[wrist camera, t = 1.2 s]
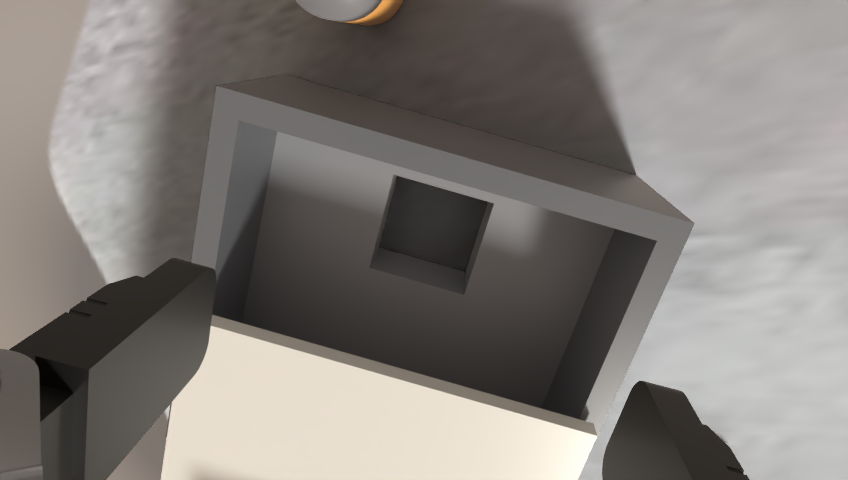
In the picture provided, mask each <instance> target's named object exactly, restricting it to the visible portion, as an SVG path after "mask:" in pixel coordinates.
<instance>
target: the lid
mask: <svg viewBox="0 0 848 480" xmlns="http://www.w3.org/2000/svg"><path fill="white" fill-rule="evenodd" d="M596 438H597V433H596V430H595V426H594V423H590V422H587V421H583V420H580V419H576V418H573V417H569V416H566V415H562V414H559V413H555V412H552V411H548V410H545V409H541V408H538V407H534V406H531V405H527V404H524V403H520V402H517V401H513V400H510V399H506V398H503V397H499V396H496V395H492V394H489V393H485V392H482V391H478V390H475V389H471V388H468V387H464V386H461V385H457V384H454V383H450V382H447V381H443V380H440V379H436V378H433V377H429V376H426V375H422V374H419V373H415V372H412V371H408V370H405V369H401V368H398V367H394V366H391V365H387V364H384V363H380V362H376V361H373V360H369V359H366V358H362V357H359V356H355V355H352V354H348V353H345V352H341V351H338V350H334V349H331V348H327V347H324V346H320V345H317V344H313V343H310V342H306V341H303V340H299V339H296V338H292V337H289V336H285V335H282V334H278V333H275V332H271V331H268V330H264V329H261V328H257V327H254V326H250V325H247V324H243V323H240V322H236V321H233V320H229V319H226V318H222V317H219V316H215V315H212V319H211V327H210V335H209V343H208V347H207V351H206V354H205V357H204V359H203V362H202V364H201V366H200V368H199V370H198V371H197V373H196V374H195V375H194V376H193V378H192V379H191V380H190V381H189V382H188V384H187V385H186V386H185V387H184V388H183V389H182V391H181V392H180V393H179V394H178V395H177V397H176V398H175V399H174V400H173V401H172V405H171V412H170V419H169V426H168V433H167V440H166V447H165V454H164V461H163V469H162V475H161V480H578V478H579V475H580V473H581V471H582V469H583V467H584V464H585V462H586V460H587V458H588V456H589V453H590V451H591V449H592V447H593V445H594V442H595V440H596Z"/></svg>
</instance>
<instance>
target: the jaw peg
mask: <svg viewBox="0 0 848 480" xmlns="http://www.w3.org/2000/svg"><path fill="white" fill-rule="evenodd" d="M295 1H296V2H297V3H298V4H299V5H300V6H301V7H302V8H303V9H304V10H306V11H307V12H309V13H310V14H312V15H314V16H316V17H319V18H322V19H326V20H332V21H339V22H346V23H352V24H359V25H367V26H371V25H378V24H381V23H383V22H385V21H387V20H389V19H390V18H391V17H392V16H393V15H395V14H396V12H397V11H398V10H399V8H400V7H401V5H402V3H403V0H295Z"/></svg>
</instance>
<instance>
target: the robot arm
mask: <svg viewBox="0 0 848 480" xmlns="http://www.w3.org/2000/svg"><path fill="white" fill-rule="evenodd" d="M215 288H216V272H215V270H214V269H213V268H210V267H206V266H203V265H199V264H195V263H191V262H187V261H183V260H179V259H176V258H172V259H170V260H168V261H167V262H166V263H164V264H163V265H161V266H160V267H159V268H157V269H156V270H154V271H153V272H152V273H150V274H149V275H147V276H146V277H145V278H143V277H139V276H134V277H130V278H127V279H124V280H120V281H117V282H114V283H111V284H108V285H106V286H105V287H103V288H101V289H100V290H98V291H97V292H95V293H94V294H92V295H91V296H89V297H88V298H87V300H86V301H82V302H80V303H79V304H77V305H76V306H74V307H73V308H71V309H70V311H69V313H66V312H65V313H64V314H62V315H61V316H59V317H58V318H56V319H55V320H53V321H52V322H50V323H49V324H47V325H46V326H44V327H43V328H41V329H40V330H38V331H37V332H35V333H33V334H32V335H30V336H29V337H27V338H26V339H25V340H23V341H21V342H20V343H18V344H17V345H15V346H14V347H12V348H11V349H9V350H5V349H0V480H106V479H107V478H108V477H109V475H110V474H111V473H112V472H113V471H114V469H116V467H117V466H118V465H119V464H120V463H121V461H122V460H123V459H124V458H125V457H126V456H127V454H128V453H129V452H130V451H131V450H132V448H133V447H134V446H135V445H136V444H137V443H138V441H139V440H140V439H141V438H142V437H143V435H144V434H145V433H146V432H147V431H148V430H149V428H150V427H151V426H152V425H153V424H154V422H155V421H156V420H157V419H158V418H159V417H160V415H161V414H162V413H163V412H164V411H165V410H166V408H167V407H168V406H169V405H170V404H171V402H172V401H173V400H174V399H175V398H176V397H177V395H178V394H179V393H180V392H181V391H182V389H183V388H184V387H185V386H186V385H187V384H188V382H189V381H190V380H191V379H192V378H193V376H194V375H195V374H196V373H197V371H198V370H199V368H200V366H201V364H202V362H203V359H204V357H205V354H206V351H207V347H208V343H209V335H210V327H211V319H212V311H213V304H214V296H215ZM743 472H744V470H743V468H742V467H741V465H740V463H739V462H738V460H737V459H736V457H735V455H734V454H733V452H732V450H731V449H730V447H729V446H728V445H727V444H725V443H724V442H723V441H722V440H721V439H720V438H719V437H718V436H717V435H716V434H715V433H714V432H713V431H712V430H711V429H710V428H709V427H708V426H707V425H703V424H702V423H701V421H700V420H699V418H698V416H697V414H696V413H695V411H694V409H693V407H692V406H691V404H690V402H689V401H688V399H687V397H686V395H685V394H684V393H683V392H682V391H679V390H675V389H671V388H667V387H664V386H660V385H656V384H652V383H648V382H644V381H639V382H637V383H636V384H635V385H634V386H633V388H632V390H631V392H630V394H629V396H628V398H627V401H626V403H625V405H624V408H623V410H622V412H621V415H620V417H619V419H618V422H617V424H616V426H615V429H614V431H613V433H612V435H611V438H610V440H609V442H608V445H607V447H606V450H605V454H604V459H603V467H602V476H603V480H749V478H748V477H747V475H744V474H743Z"/></svg>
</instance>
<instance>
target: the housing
mask: <svg viewBox="0 0 848 480" xmlns="http://www.w3.org/2000/svg"><path fill="white" fill-rule="evenodd" d="M398 176H400V177H404V178H407V179H411V180H414V181H418V182H421V183H424V184H428V185H431V186H435V187H438V188H442V189H445V190H449V191H452V192H456V193H459V194H463V195H466V196H470V197H473V198H477V199H480V200H484V201H487V202H488V204H487V207H486V210H485V213H484V216H483V219H482V222H481V225H480V228H479V231H478V235H477V238H476V241H475V244H474V247H473V250H472V253H471V256H470V259H469V262H468V266H467V269H466V272H464V271H460V270H457V269H453V268H450V267H446V266H443V265H439V264H436V263H432V262H429V261H425V260H422V259H418V258H415V257H411V256H408V255H404V254H401V253H397V252H394V251H390V250H387V249H383V248H380V247H379V246H380V242H381V238H382V234H383V231H384V227H385V223H386V219H387V215H388V211H389V208H390V204H391V200H392V196H393V192H394V189H395V185H396V181H397V177H398ZM694 224H695V223H693V222H692V221H691V220H690V219H689V218H687V217H686V216H685V215H684V214H683V213H681V212H680V211H679V210H678V209H677V208H675V207H674V206H673V205H672V204H670V203H669V202H668V201H667V200H666V199H664V198H663V197H662V196H661V195H660V194H658V193H657V192H656V191H655V190H654V189H652V188H651V187H650V186H649V185H648V184H646V183H645V182H644V181H643V180H642V179H640V178H639V177H638V176H636V175H633V174H629V173H626V172H622V171H619V170H615V169H612V168H608V167H605V166H602V165H598V164H595V163H591V162H588V161H584V160H581V159H577V158H574V157H570V156H567V155H563V154H560V153H556V152H553V151H550V150H546V149H543V148H539V147H536V146H532V145H529V144H525V143H522V142H518V141H515V140H511V139H508V138H504V137H501V136H498V135H494V134H491V133H487V132H484V131H480V130H477V129H473V128H470V127H466V126H463V125H459V124H456V123H452V122H449V121H446V120H442V119H439V118H435V117H432V116H428V115H425V114H421V113H418V112H414V111H411V110H407V109H404V108H400V107H397V106H393V105H390V104H387V103H383V102H380V101H376V100H373V99H369V98H366V97H362V96H359V95H355V94H352V93H348V92H345V91H341V90H338V89H335V88H331V87H328V86H324V85H321V84H317V83H314V82H310V81H307V80H303V79H300V78H296V77H293V76H289V75H286V74H285V75H278V76H272V77H266V78H260V79H254V80H248V81H242V82H236V83H230V84H224V85H217V86H216V91H215V98H214V105H213V112H212V119H211V126H210V133H209V140H208V147H207V154H206V161H205V168H204V175H203V182H202V189H201V196H200V203H199V210H198V217H197V224H196V231H195V237H194V244H193V251H192V258H191V263H195V264H199V265H203V266H206V267H210V268H213V269H214V270H215V272H216V288H215V296H214V304H213V311H212V315H215V316H219V317H222V318H226V319H229V320H233V321H236V322H240V323H243V324H247V325H250V326H254V327H257V328H261V329H264V330H268V331H271V332H275V333H278V334H282V335H285V336H289V337H292V338H296V339H299V340H303V341H306V342H310V343H313V344H317V345H320V346H324V347H327V348H331V349H334V350H338V351H341V352H345V353H348V354H352V355H355V356H359V357H362V358H366V359H369V360H373V361H376V362H380V363H384V364H387V365H391V366H394V367H398V368H401V369H405V370H408V371H412V372H415V373H419V374H422V375H426V376H429V377H433V378H436V379H440V380H443V381H447V382H450V383H454V384H457V385H461V386H464V387H468V388H471V389H475V390H478V391H482V392H485V393H489V394H492V395H496V396H499V397H503V398H506V399H510V400H513V401H517V402H520V403H524V404H527V405H531V406H534V407H538V408H541V409H545V410H548V411H552V412H555V413H559V414H562V415H566V416H569V417H573V418H576V419H580V420H583V421H587V422H590V423H594V426H595V430H596V433H597V436H598V434H599V432H600V430H601V427H602V425H603V423H604V421H605V419H606V416H607V414H608V412H609V410H610V408H611V405H612V403H613V401H614V399H615V397H616V395H617V392H618V390H619V388H620V386H621V384H622V381H623V379H624V377H625V375H626V373H627V370H628V368H629V366H630V364H631V362H632V359H633V357H634V355H635V353H636V351H637V348H638V346H639V344H640V342H641V340H642V338H643V335H644V333H645V331H646V329H647V327H648V324H649V322H650V320H651V318H652V316H653V313H654V311H655V309H656V307H657V305H658V302H659V300H660V298H661V296H662V294H663V291H664V289H665V287H666V285H667V283H668V281H669V278H670V276H671V274H672V272H673V270H674V267H675V265H676V263H677V261H678V259H679V256H680V254H681V252H682V250H683V248H684V245H685V243H686V241H687V239H688V237H689V234H690V232H691V230H692V228H693V226H694ZM171 405H172V402H171ZM171 405H170V412H171ZM170 412H169V419H170ZM169 419H168V426H169ZM168 426H167V433H168ZM167 433H166V437H167ZM595 441H596V440H595ZM594 443H595V442H594ZM590 452H591V451H590ZM589 454H590V453H589ZM584 465H585V464H584ZM579 476H580V475H579Z"/></svg>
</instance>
